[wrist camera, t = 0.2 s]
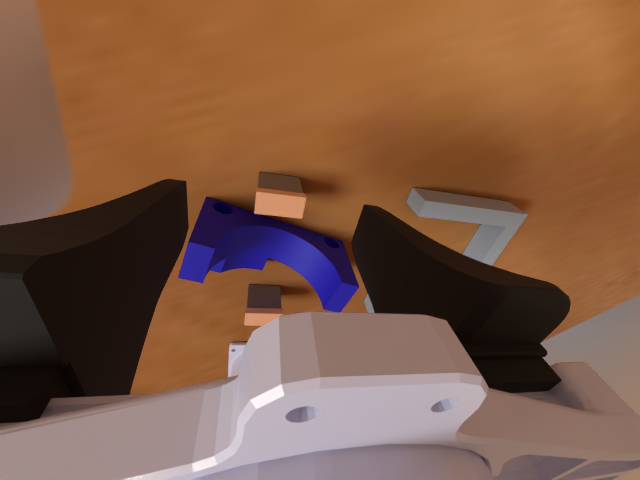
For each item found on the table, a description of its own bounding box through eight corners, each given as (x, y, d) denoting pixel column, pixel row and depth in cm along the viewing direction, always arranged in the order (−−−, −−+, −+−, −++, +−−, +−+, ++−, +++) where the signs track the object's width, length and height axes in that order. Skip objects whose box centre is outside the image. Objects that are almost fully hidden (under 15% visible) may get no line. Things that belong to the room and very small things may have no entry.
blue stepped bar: (193, 241, 23) (173, 293, 18) (206, 195, 21) (188, 241, 16) (320, 274, 28) (331, 324, 23) (341, 240, 25) (359, 286, 21)
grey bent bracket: (441, 304, 33) (452, 320, 31) (364, 301, 31) (370, 319, 29) (508, 201, 26) (528, 214, 24) (412, 187, 23) (425, 200, 21)
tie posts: (279, 296, 28) (280, 325, 25) (246, 295, 27) (244, 325, 24) (300, 176, 21) (306, 197, 18) (258, 170, 20) (256, 191, 17)
